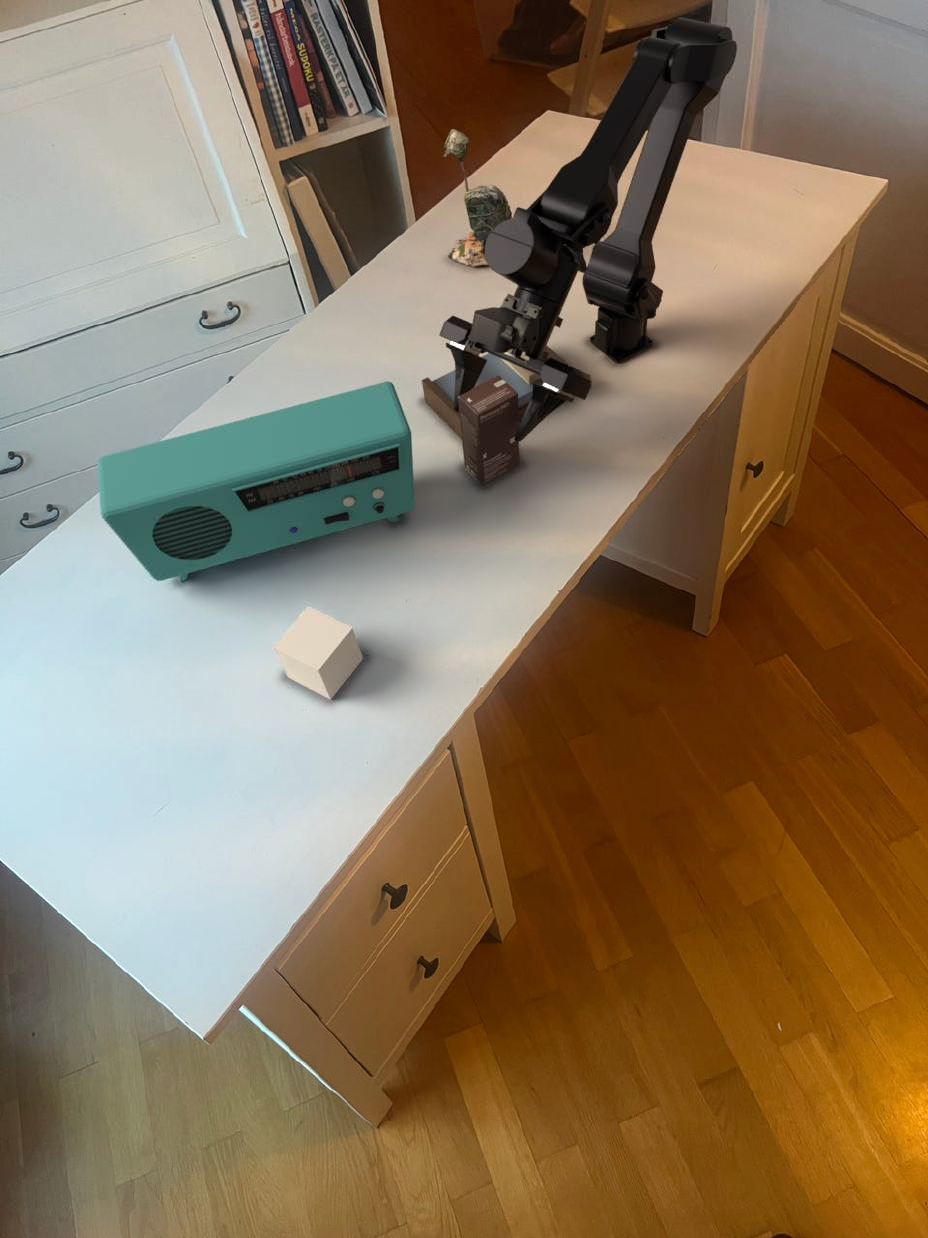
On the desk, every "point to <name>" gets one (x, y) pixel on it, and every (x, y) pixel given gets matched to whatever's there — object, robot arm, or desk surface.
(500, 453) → the box
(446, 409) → the bed
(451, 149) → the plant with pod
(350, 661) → the cream cube
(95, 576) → the desk surface
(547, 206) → the robot arm
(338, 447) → the radio
